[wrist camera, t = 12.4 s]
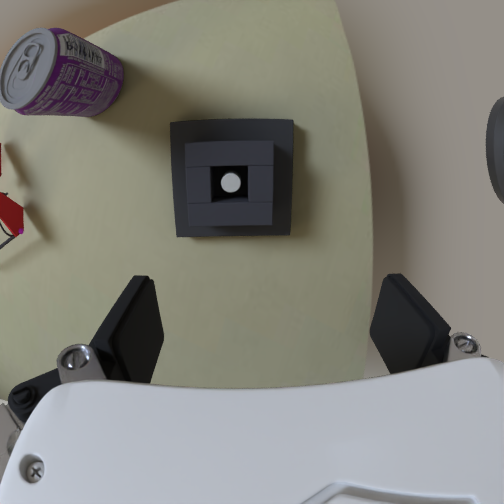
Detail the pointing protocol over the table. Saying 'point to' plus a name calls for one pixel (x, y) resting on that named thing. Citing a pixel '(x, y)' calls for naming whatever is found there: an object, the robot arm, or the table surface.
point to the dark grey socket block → (233, 206)
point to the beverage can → (59, 75)
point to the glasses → (10, 215)
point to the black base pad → (234, 134)
